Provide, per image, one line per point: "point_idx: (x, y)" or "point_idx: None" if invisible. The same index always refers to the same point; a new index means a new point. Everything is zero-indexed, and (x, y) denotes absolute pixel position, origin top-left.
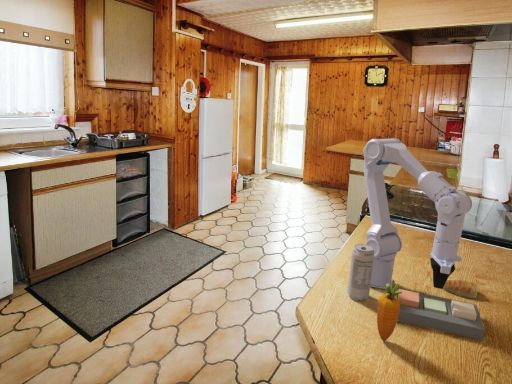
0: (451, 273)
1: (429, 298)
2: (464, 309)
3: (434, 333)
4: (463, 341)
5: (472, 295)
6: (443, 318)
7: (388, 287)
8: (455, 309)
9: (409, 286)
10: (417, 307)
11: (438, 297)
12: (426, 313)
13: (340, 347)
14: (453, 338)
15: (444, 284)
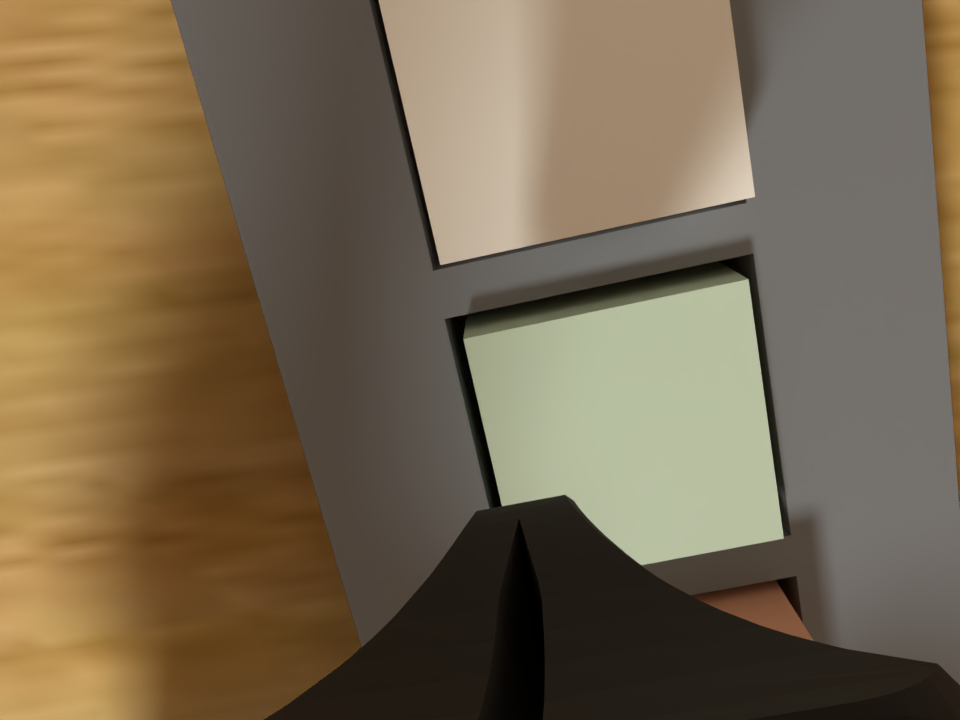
0: (806, 639)
1: (440, 518)
2: (645, 48)
3: (955, 314)
4: (955, 6)
5: None
6: (889, 288)
7: None
8: (735, 177)
9: (66, 706)
10: (782, 600)
11: (325, 423)
12: (873, 488)
13: None
14: (950, 117)
15: (592, 523)
